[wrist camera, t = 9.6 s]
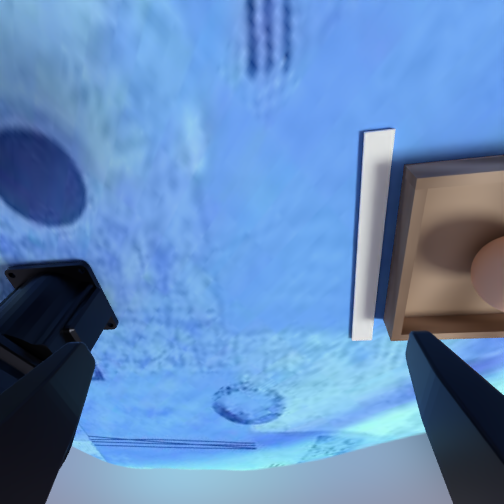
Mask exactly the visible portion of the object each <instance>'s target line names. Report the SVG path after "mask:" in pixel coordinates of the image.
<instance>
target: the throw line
mask: <svg viewBox="0 0 504 504" xmlns="http://www.w3.org/2000/svg"><path fill="white" fill-rule="evenodd" d="M394 136H395V129H394V128H393V129H384V130H375V131H366V132H364V139H363V155H362V172H361V189H360V205H359V222H358V239H357V255H356V272H355V289H354V305H353V322H352V341H358V340H372V333H373V324H374V315H375V306H376V297H377V288H378V279H379V270H380V261H381V252H382V243H383V234H384V225H385V216H386V208H387V199H388V190H389V181H390V172H391V163H392V154H393V145H394Z"/></svg>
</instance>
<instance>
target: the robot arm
mask: <svg viewBox="0 0 504 504" xmlns="http://www.w3.org/2000/svg"><path fill="white" fill-rule="evenodd" d="M81 268H82V269H81ZM83 269H84V270H83ZM5 275H6V277H7V278H8V280H9V281H10V282H11V284H12V285H13V287H14V288H15V290H14V291H12V292H11V293H10V294H9V295H8V296H7V297H6V298H5V299H4V300H3V301H2V302H1V303H0V504H45V503H46V501H47V498H48V496H49V493H50V491H51V488H52V486H53V483H54V481H55V478H56V476H57V473H58V471H59V469H60V468H61V466H62V464H63V463H64V461H65V459H66V457H67V455H68V453H69V451H70V448H71V446H72V443H73V439H74V436H75V433H76V429H77V426H78V423H79V420H80V416H81V413H82V410H83V406H84V403H85V400H86V396H87V393H88V389H89V386H90V382H91V379H92V376H93V372H94V369H95V359H94V357H93V356H92V354H91V350H92V348H93V346H94V345H95V343H96V341H97V340H98V338H99V336H100V334H101V333H102V331H103V330H108V329H115V328H116V327H117V325H118V323H119V322H118V320H117V318H116V316H115V314H114V312H113V310H112V308H111V306H110V304H109V302H108V300H107V298H106V296H105V294H104V292H103V290H102V288H101V287H100V285H99V283H98V281H97V279H96V277H95V275H94V273H93V271H92V269H91V267H90V266H89V265H88V264H87V263H85V262H71V263H57V264H42V265H28V266H13V267H9V268H8V269H7V270H6V271H5ZM406 361H407V365H408V369H409V373H410V376H411V380H412V384H413V388H414V392H415V396H416V400H417V404H418V408H419V411H420V415H421V419H422V422H423V424H424V427H425V430H426V433H427V435H428V438H429V441H430V443H431V446H432V449H433V451H434V454H435V457H436V459H437V462H438V464H439V467H440V470H441V473H442V475H443V478H444V480H445V483H446V486H447V488H448V491H449V494H450V496H451V499H452V501H453V504H504V395H503V394H502V393H500V392H499V391H498V390H497V389H496V388H495V387H493V386H492V385H491V384H490V383H489V382H488V381H486V380H485V379H484V378H483V377H482V376H481V375H479V374H478V373H477V372H476V371H475V370H474V369H473V368H471V367H470V366H469V365H468V364H467V363H466V362H464V361H463V360H462V359H461V358H460V357H459V356H457V355H456V354H455V353H454V352H453V351H452V350H451V349H449V348H448V347H447V346H446V345H445V344H444V343H442V342H441V341H440V340H439V339H438V338H437V337H435V336H434V335H433V334H432V333H431V332H429V331H426V330H419V331H411V332H410V334H409V338H408V343H407V348H406Z"/></svg>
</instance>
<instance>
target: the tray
mask: <svg viewBox="0 0 504 504" xmlns="http://www.w3.org/2000/svg"><path fill="white" fill-rule="evenodd" d="M503 236H504V155H497V156H487V157H477V158H467V159H456V160H446V161H436V162H426V163H416V164H406V165H404V171H403V178H402V186H401V193H400V200H399V208H398V215H397V223H396V230H395V238H394V245H393V252H392V260H391V267H390V275H389V282H388V289H387V297H386V304H385V312H384V319H383V320H384V323H385V326H386V328H387V331H388V334H389V337H390V340H391V341H403V340H408V338H409V334H410V332H411V331H419V330H426V331H429V332H431V333H432V334H433V335H434V336H435V337H437V338H438V339H469V338H502V337H504V312H503V311H500V310H498V309H496V308H494V307H492V306H491V305H489V304H488V303H486V302H485V301H484V300H483V299H482V298H481V297H480V296H479V295H478V293H477V292H476V290H475V289H474V286H473V284H472V281H471V265H472V262H473V259H474V258H475V256H476V254H477V253H478V252H479V251H480V249H481V248H482V247H484V246H485V245H486V244H488V243H489V242H491V241H493V240H495V239H497V238H500V237H503Z"/></svg>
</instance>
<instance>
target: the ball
mask: <svg viewBox="0 0 504 504" xmlns="http://www.w3.org/2000/svg"><path fill="white" fill-rule="evenodd" d="M471 281H472V284H473V286H474V289H475V290H476V292H477V293H478V295H479V296H480V297H481V298H482V299H483V300H484V301H485V302H486V303H488V304H489V305H491V306H492V307H494V308H496V309H498V310H500V311H503V312H504V236H503V237H500V238H497V239H495V240H493V241H491V242H489V243H488V244H486V245H485V246H484V247H482V248H481V249H480V251H479V252H478V253H477V254H476V256H475V258H474V259H473V262H472V265H471Z"/></svg>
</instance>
